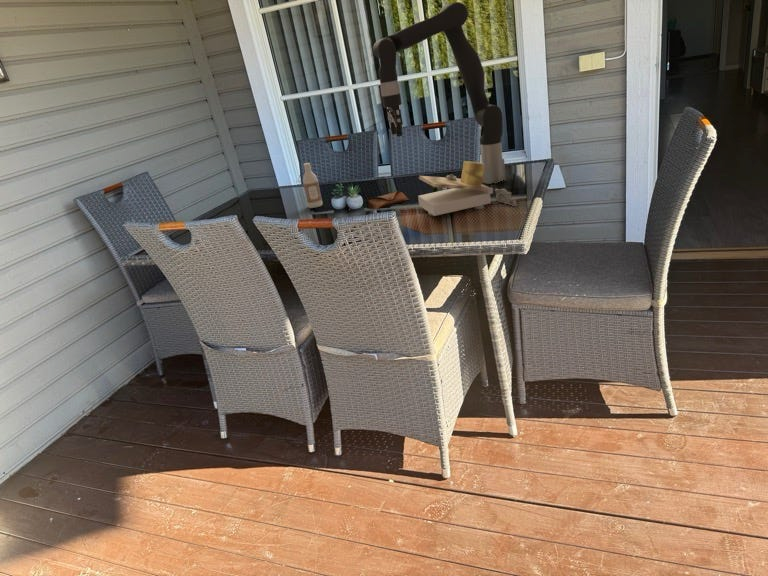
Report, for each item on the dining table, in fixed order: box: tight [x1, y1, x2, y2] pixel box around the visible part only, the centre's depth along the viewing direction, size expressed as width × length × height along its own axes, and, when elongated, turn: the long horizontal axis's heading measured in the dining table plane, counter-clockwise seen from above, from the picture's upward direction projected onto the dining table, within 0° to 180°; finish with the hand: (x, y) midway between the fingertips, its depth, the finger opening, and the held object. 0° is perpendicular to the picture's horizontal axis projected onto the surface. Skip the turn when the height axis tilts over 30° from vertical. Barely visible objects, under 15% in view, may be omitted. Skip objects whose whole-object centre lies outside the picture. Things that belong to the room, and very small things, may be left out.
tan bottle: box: [302, 162, 323, 209], centre depth 238 cm, size 7×7×20 cm
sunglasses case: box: [366, 190, 410, 210], centre depth 226 cm, size 18×7×7 cm, turn 117°
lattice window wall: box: [494, 188, 517, 207], centre depth 197 cm, size 12×2×6 cm, turn 23°
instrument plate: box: [418, 160, 490, 191], centre depth 197 cm, size 23×18×10 cm
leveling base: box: [417, 187, 494, 217], centre depth 201 cm, size 24×21×8 cm
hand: (397, 135), depth 211 cm, fingers open, 8 cm apart
